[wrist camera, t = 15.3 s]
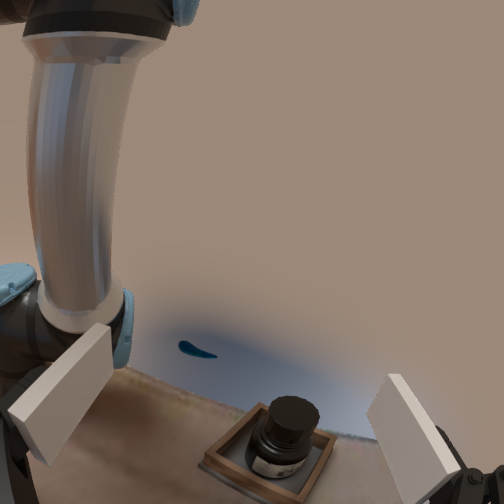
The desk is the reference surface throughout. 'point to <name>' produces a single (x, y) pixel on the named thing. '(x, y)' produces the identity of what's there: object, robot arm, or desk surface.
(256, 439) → the ink bottle
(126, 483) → the desk surface
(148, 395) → the desk surface
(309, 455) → the tray
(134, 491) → the desk surface
